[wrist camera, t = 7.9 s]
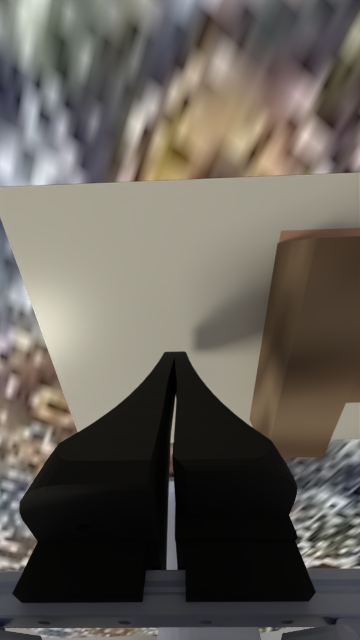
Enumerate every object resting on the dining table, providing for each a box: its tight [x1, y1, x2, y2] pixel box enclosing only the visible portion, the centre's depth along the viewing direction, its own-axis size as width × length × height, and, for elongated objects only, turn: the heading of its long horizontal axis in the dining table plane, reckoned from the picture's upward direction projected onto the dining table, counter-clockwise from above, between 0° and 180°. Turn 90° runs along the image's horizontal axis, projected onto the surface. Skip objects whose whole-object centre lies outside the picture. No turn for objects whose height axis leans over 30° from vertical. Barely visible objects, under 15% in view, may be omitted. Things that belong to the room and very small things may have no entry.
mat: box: [0, 173, 360, 443], centre depth 12 cm, size 20×34×1 cm, turn 92°
